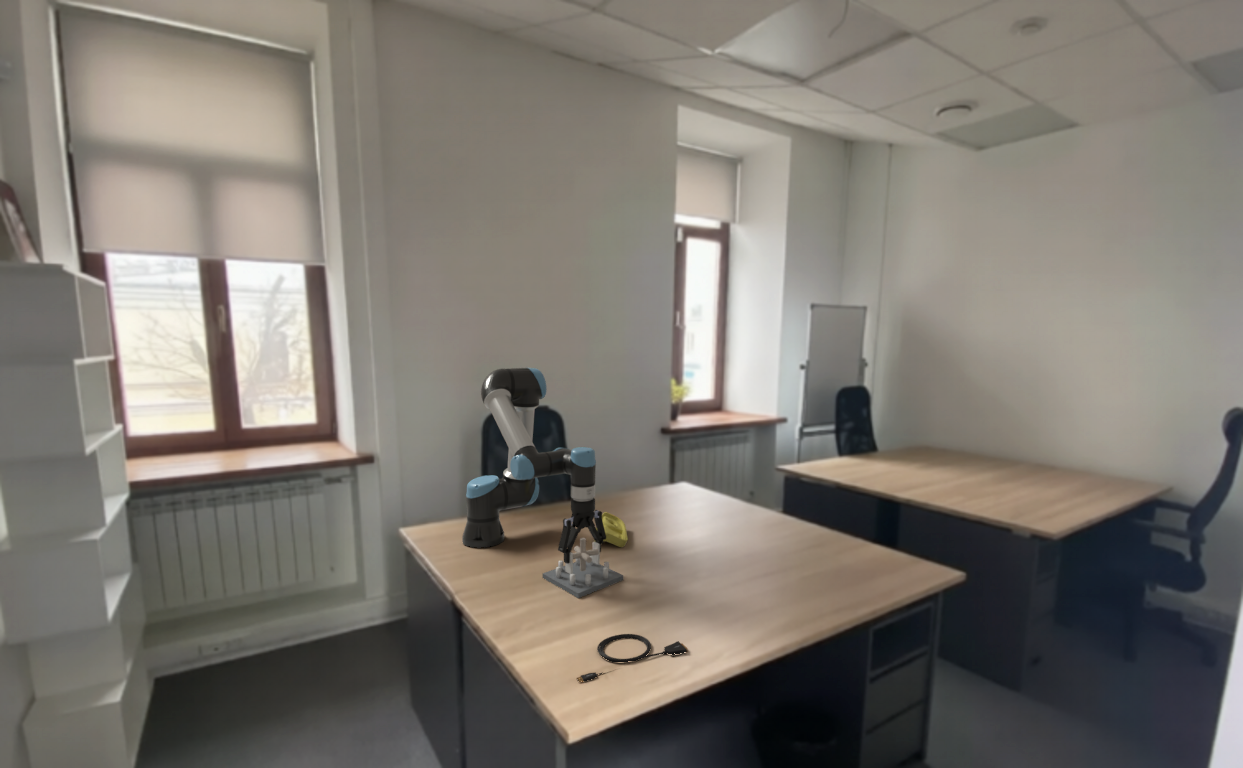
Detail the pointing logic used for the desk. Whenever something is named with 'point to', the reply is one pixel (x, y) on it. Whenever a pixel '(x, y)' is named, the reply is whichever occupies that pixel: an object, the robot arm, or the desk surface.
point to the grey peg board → (583, 578)
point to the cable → (669, 649)
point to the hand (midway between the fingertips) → (582, 567)
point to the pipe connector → (584, 554)
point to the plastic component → (614, 530)
